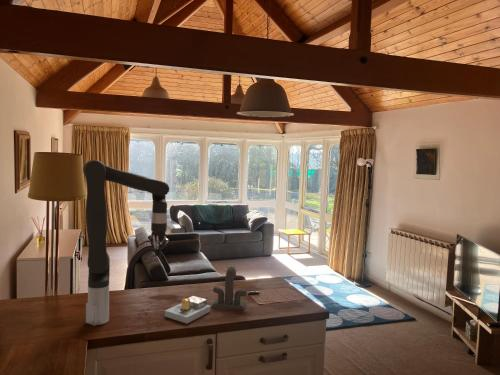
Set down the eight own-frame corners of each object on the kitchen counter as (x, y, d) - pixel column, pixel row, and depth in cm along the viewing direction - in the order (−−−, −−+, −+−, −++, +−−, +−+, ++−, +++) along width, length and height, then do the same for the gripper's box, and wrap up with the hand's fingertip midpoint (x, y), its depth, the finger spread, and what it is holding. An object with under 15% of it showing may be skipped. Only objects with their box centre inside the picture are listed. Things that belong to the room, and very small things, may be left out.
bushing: (185, 317, 192) (186, 301, 191) (179, 315, 194) (180, 299, 193) (191, 315, 195) (191, 299, 194) (185, 313, 197) (185, 297, 196)
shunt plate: (198, 308, 196) (198, 303, 195) (184, 304, 200) (184, 299, 200) (206, 304, 201) (206, 299, 201) (193, 300, 206) (193, 295, 206)
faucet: (248, 299, 219) (249, 264, 217) (245, 310, 203) (246, 272, 202) (216, 297, 221) (217, 262, 219) (210, 307, 205) (211, 270, 203)
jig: (186, 323, 185) (187, 317, 185) (164, 316, 192) (164, 310, 192) (210, 311, 200) (210, 305, 200) (188, 305, 207) (189, 299, 207)
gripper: (174, 222, 193) (172, 257, 194) (155, 219, 200) (153, 252, 201) (163, 224, 187) (162, 260, 188) (143, 220, 194) (142, 255, 195)
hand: (157, 256), depth 195 cm, fingers closed
